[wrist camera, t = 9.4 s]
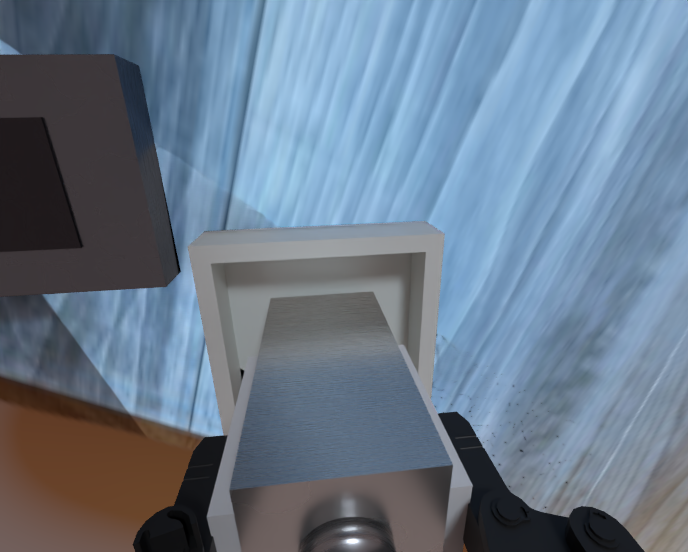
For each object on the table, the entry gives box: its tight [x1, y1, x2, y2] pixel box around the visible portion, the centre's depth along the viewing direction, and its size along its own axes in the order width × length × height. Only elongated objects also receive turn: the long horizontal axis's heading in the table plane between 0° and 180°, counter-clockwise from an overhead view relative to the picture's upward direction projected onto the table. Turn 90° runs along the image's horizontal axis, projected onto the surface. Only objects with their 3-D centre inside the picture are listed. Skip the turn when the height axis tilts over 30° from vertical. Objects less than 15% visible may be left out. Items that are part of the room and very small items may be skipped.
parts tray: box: [188, 221, 445, 435], centre depth 18 cm, size 11×11×3 cm
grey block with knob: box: [229, 291, 453, 552], centre depth 13 cm, size 5×5×11 cm
